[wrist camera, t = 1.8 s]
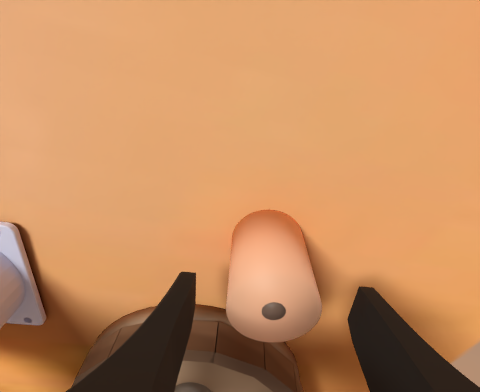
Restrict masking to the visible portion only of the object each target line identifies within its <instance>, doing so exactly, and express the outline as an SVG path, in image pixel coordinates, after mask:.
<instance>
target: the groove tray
mask: <svg viewBox="0 0 480 392" xmlns="http://www.w3.org/2000/svg"><path fill="white" fill-rule="evenodd" d="M156 307H157V306H155V307H149V308H146V309H142V310H139V311H135V312H133V313H131V314H128V315H126V316H123V317H122V318H120V319H118V320H117V321H115V322H113V323H112V324H111V325H110V326H108V327H107V328H106V329H105V330H104V331H103V332H102V333H101V334H100V335H99V337H98V338H97V340H96V342H95V344H94V345H93V347H92V348H91V349H90V351H89V353H88V355H87V357H86V359H85V361H84V362H83V364H82V366H81V368H80V370H79V372H78V374H77V376H76V378H75V380H74V383H73V385H72V387H73V386H74V385H75V384H77V383H78V382H79V381H81V380H82V379H83V378H84V377H86V376H87V375H88V374H89V373H91V372H92V371H93V370H94V369H96V368H97V367H98V366H99V365H100V364H102V363H103V362H104V361H105V360H106V359H107V358H108V357H110V356H111V355H112V354H113V353H114V352H115V351H116V350H117V349H118V348H119V347H120V346H121V345H122V344H123V343H124V342H125V341H126V340H127V339H128V338H129V337H130V336H131V335H132V334H133V333H134V332H135V331H136V330H137V329H138V328H139V327H140V326H141V325H142V323H143V322H144V321H145V320H146V319H147V318H148V316H149V315H150V314H151V313H152V312H153V311H154V309H155V308H156ZM72 387H71V388H72ZM174 392H303V388H302V385H301V383H300V378H299V371H298V366H297V363H296V360H295V358H294V355H293V353H292V352H291V350H290V349H289V347H288V346H287V345H286V343H285V342H262V341H257V340H254V339H251V338H248V337H246V336H244V335H242V334H241V333H240V332H238V331H237V330H236V329H235V328H234V327H233V326H232V325H231V323H230V322H229V320H228V317H227V314H226V309H221V308H217V307H212V306H204V305H196V304H195V311H194V317H193V323H192V329H191V333H190V336H189V340H188V343H187V347H186V351H185V354H184V358H183V361H182V365H181V368H180V372H179V375H178V379H177V383H176V387H175V391H174Z"/></svg>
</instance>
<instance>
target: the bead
mask: <svg viewBox="0 0 480 392" xmlns="http://www.w3.org/2000/svg"><path fill="white" fill-rule="evenodd" d="M321 312H322V303H321V299H320V295H319V292H318V288H317V284H316V281H315V277H314V274H313V270H312V267H311V263H310V259H309V256H308V252H307V249H306V245H305V241H304V238H303V234H302V231H301V228H300V226H299V225H298V223H297V222H296V221H295V220H294V219H293V218H292V217H290V216H289V215H287V214H285V213H283V212H280V211H275V210H261V211H256V212H253V213H251V214H249V215H247V216H246V217H244V218H243V219H242V220H241V221H240V222H239V223H238V224H237V225H236V227H235V229H234V232H233V236H232V245H231V257H230V268H229V280H228V291H227V302H226V314H227V317H228V320H229V322H230V323H231V325H232V326H233V327H234V328H235V329H236V330H237V331H238V332H240V333H241V334H242V335H244V336H246V337H248V338H251V339H254V340H257V341H262V342H284V341H289V340H292V339H296V338H298V337H300V336H302V335H304V334H306V333H307V332H309V331H310V330H311V329H312V328H313V327H314V326H315V325H316V324H317V322H318V320H319V319H320V316H321Z"/></svg>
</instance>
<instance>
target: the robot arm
mask: <svg viewBox="0 0 480 392" xmlns="http://www.w3.org/2000/svg"><path fill="white" fill-rule="evenodd" d="M195 296H196V273H191V272H181V273H179V275H178V277H177V279H176V280H175V282H174V283H173V285H172V286H171V288H170V289H169V291H168V292H167V294H166V295H165V296H164V298H163V299H162V300H161V302H160V303H159V304H158V305H157V307H156V308H155V309H154V311H153V312H152V313H151V314H150V315H149V316H148V318H147V319H146V320H145V321H144V322H143V323H142V325H141V326H140V327H139V328H138V329H137V330H136V331H135V332H134V333H133V334H132V335H131V336H130V337H129V338H128V339H127V340H126V341H125V342H124V343H123V344H122V345H121V346H120V347H119V348H118V349H117V350H116V351H115V352H114V353H113V354H112V355H111V356H110V357H108V358H107V359H106V360H105V361H104V362H103V363H102V364H100V365H99V366H98V367H97V368H96V369H94V370H93V371H92V372H91V373H89V374H88V375H87V376H86V377H84V378H83V379H82V380H81V381H79V382H78V383H77V384H75V385H74V386H73V387H72V388H70V389H69V390H67V391H66V392H174V391H175V387H176V383H177V379H178V375H179V372H180V368H181V365H182V361H183V358H184V354H185V351H186V347H187V343H188V340H189V336H190V333H191V329H192V323H193V317H194V311H195ZM45 320H46V314H45V311H44V308H43V305H42V302H41V299H40V296H39V292H38V289H37V286H36V283H35V280H34V277H33V274H32V271H31V268H30V264H29V261H28V258H27V255H26V252H25V249H24V246H23V243H22V239H21V236H20V233H19V230H18V228H17V227H16V226H15V225H13V224H12V223H8V222H0V329H1V328H2V326H3V325H4V324H5V323H11V324H24V325H42V324H43V323H44V322H45ZM348 323H349V328H350V333H351V337H352V341H353V345H354V348H355V351H356V354H357V356H358V359H359V362H360V365H361V368H362V371H363V373H364V376H365V379H366V382H367V385H368V387H369V390H370V392H480V387H478V386H477V385H476V384H474V383H473V382H472V381H470V380H469V379H468V378H467V377H465V376H464V375H463V374H462V373H460V372H459V371H458V370H457V369H455V368H454V367H453V366H452V365H451V364H450V363H449V362H447V361H446V360H445V359H444V358H443V357H442V356H440V355H439V354H438V353H437V352H436V351H435V350H434V349H433V348H432V347H431V346H430V345H429V344H427V343H426V342H425V341H424V340H423V339H422V338H421V337H420V336H419V335H418V334H417V333H416V332H415V331H414V330H413V329H412V328H411V327H410V326H409V325H408V324H407V323H406V322H405V321H404V320H403V319H402V318H401V317H400V316H399V315H398V314H397V313H396V311H395V310H394V309H393V308H392V307H391V306H390V305H389V304H388V303H387V302H386V301H385V300H384V299H383V298H382V297H381V295H380V294H379V293H378V292H377V291H376V290H375V289H374V288H370V287H359V288H358V291H357V294H356V297H355V300H354V302H353V305H352V308H351V311H350V314H349V316H348Z"/></svg>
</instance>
